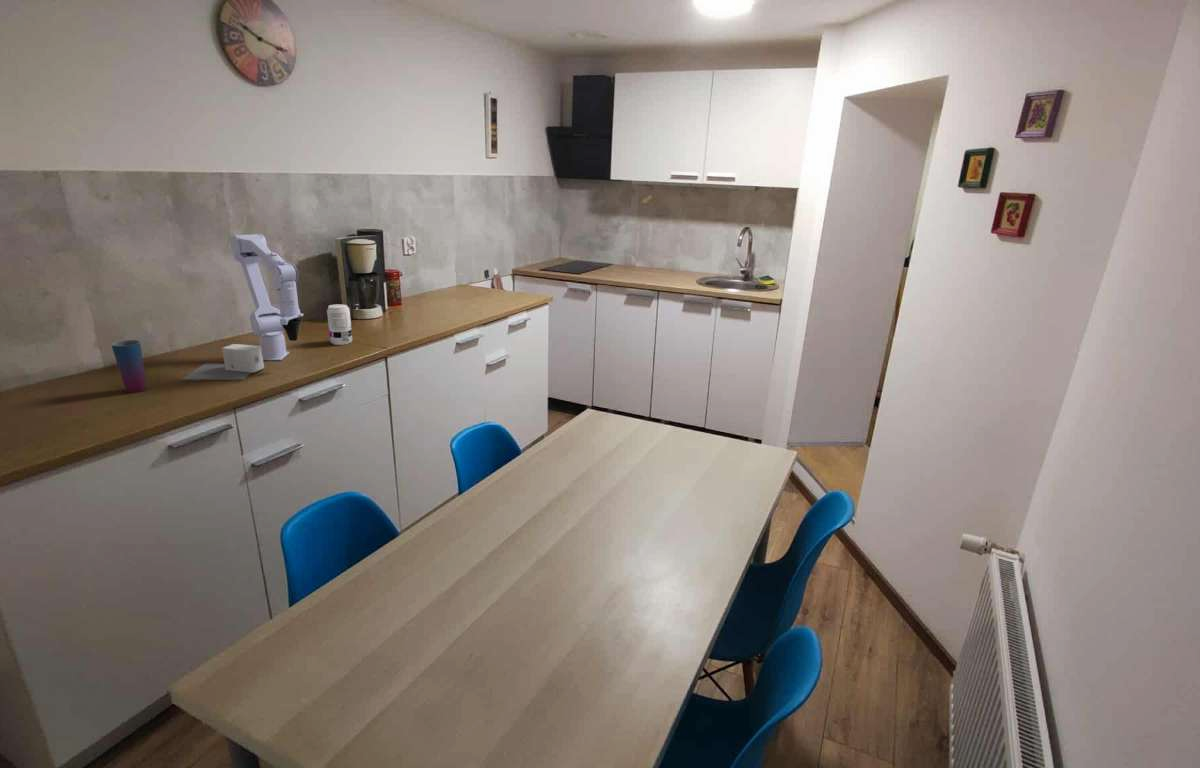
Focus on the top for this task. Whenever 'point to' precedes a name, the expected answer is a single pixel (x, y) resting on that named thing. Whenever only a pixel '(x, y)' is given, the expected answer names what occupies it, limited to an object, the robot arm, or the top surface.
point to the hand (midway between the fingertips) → (293, 340)
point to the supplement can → (339, 324)
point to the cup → (130, 364)
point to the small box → (243, 358)
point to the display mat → (214, 373)
